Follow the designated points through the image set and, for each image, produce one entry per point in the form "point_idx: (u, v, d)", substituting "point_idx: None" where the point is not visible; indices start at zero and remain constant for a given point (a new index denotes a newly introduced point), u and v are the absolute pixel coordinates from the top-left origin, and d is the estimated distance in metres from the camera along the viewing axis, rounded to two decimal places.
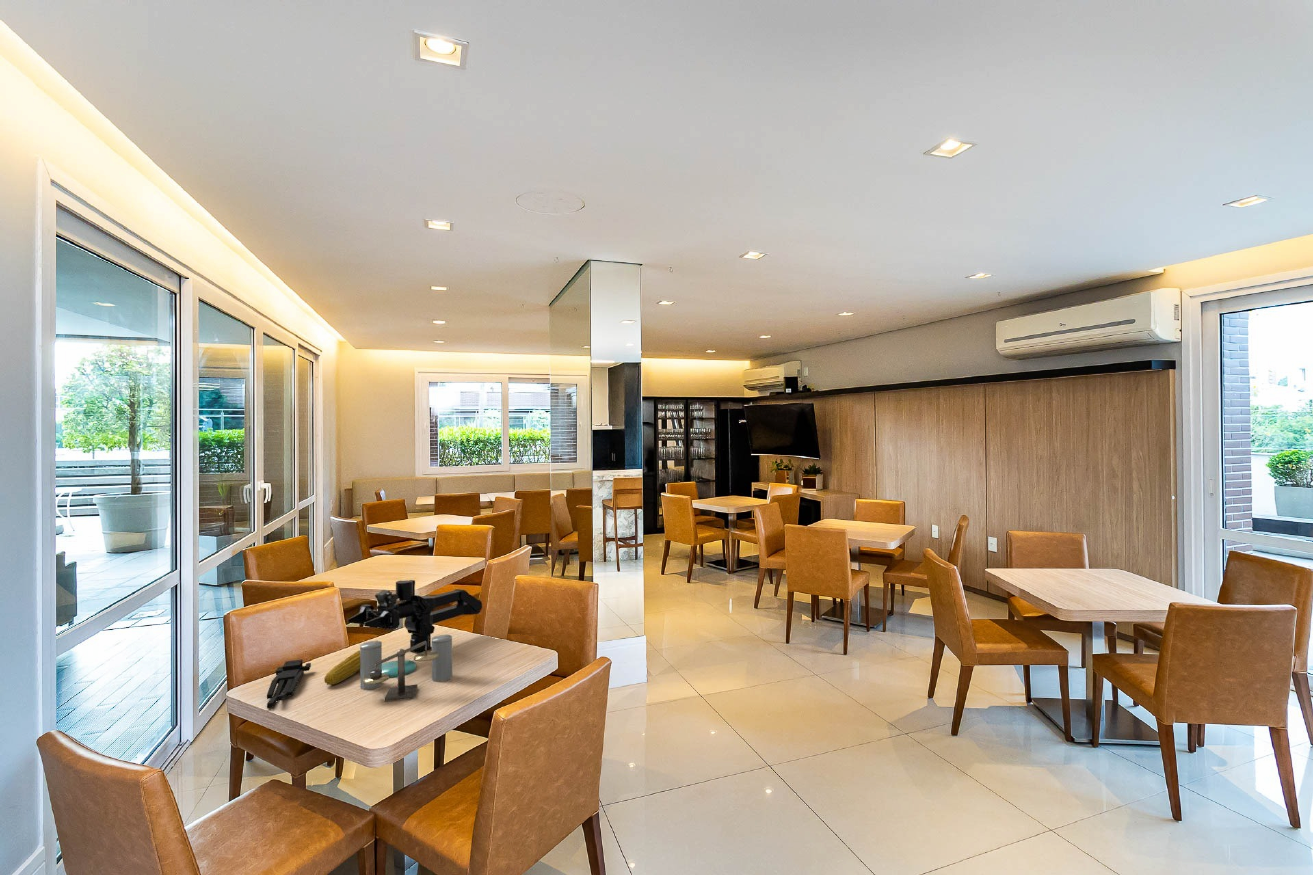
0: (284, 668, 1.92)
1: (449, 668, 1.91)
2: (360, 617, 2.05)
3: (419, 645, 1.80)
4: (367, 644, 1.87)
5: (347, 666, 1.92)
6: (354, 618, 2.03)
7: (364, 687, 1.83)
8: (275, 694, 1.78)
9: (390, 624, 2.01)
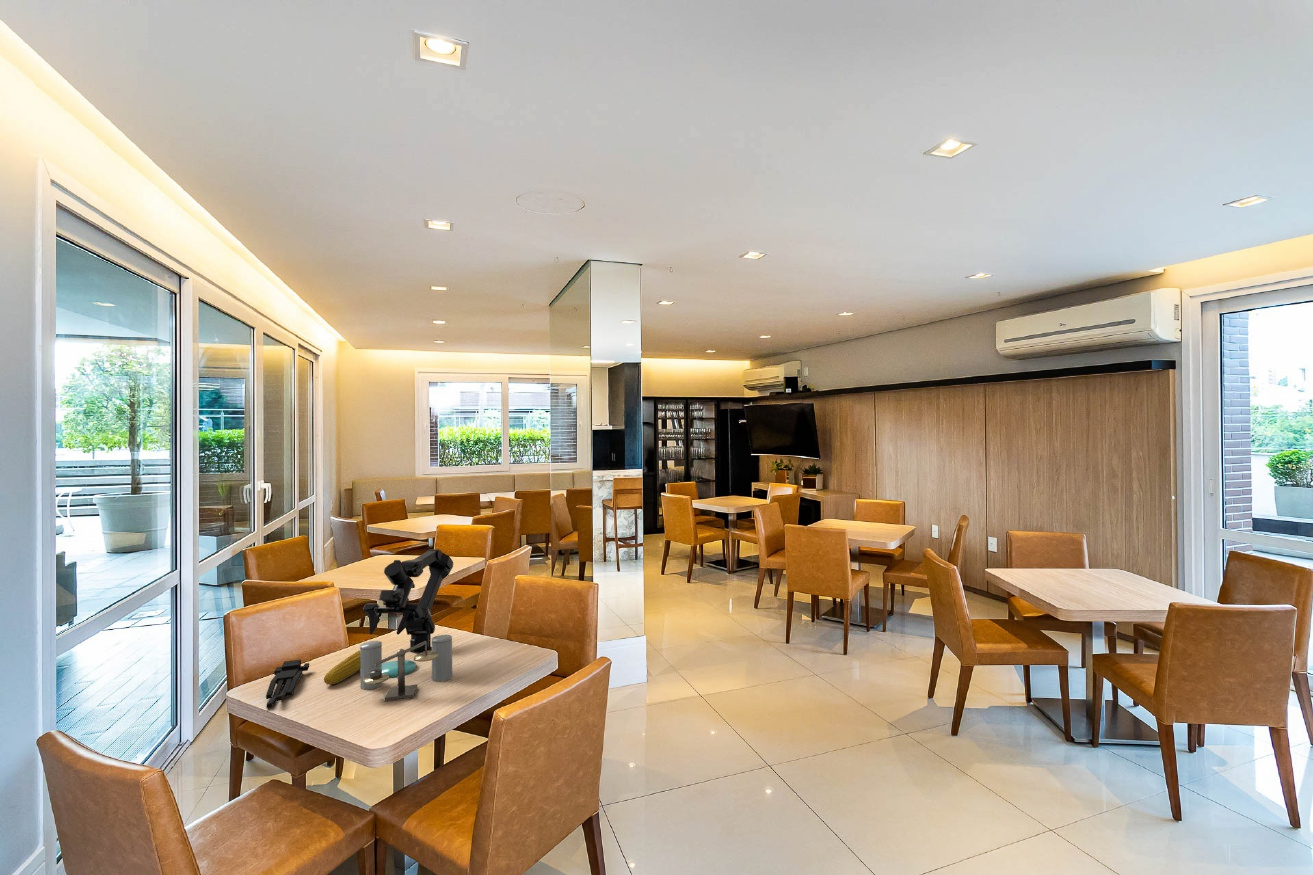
0: (283, 668, 1.92)
1: (449, 668, 1.91)
2: (374, 620, 1.99)
3: (419, 645, 1.80)
4: (367, 644, 1.87)
5: (347, 666, 1.92)
6: (373, 627, 1.97)
7: (364, 687, 1.83)
8: (274, 694, 1.78)
9: (416, 616, 2.01)
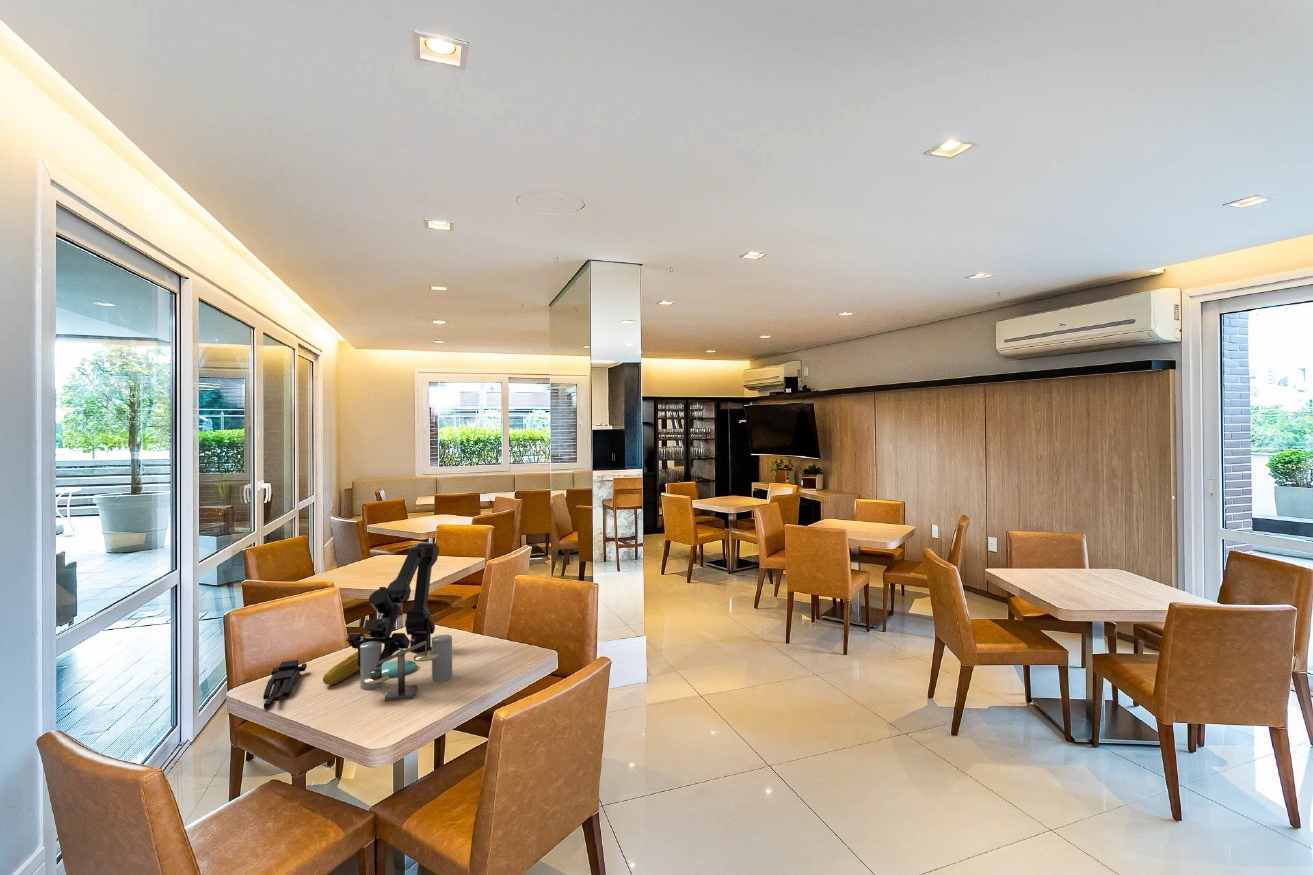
0: (280, 669, 1.92)
1: (449, 668, 1.91)
2: None
3: (419, 645, 1.80)
4: (367, 644, 1.87)
5: (346, 666, 1.92)
6: None
7: (364, 687, 1.83)
8: (271, 695, 1.78)
9: (398, 646, 1.91)
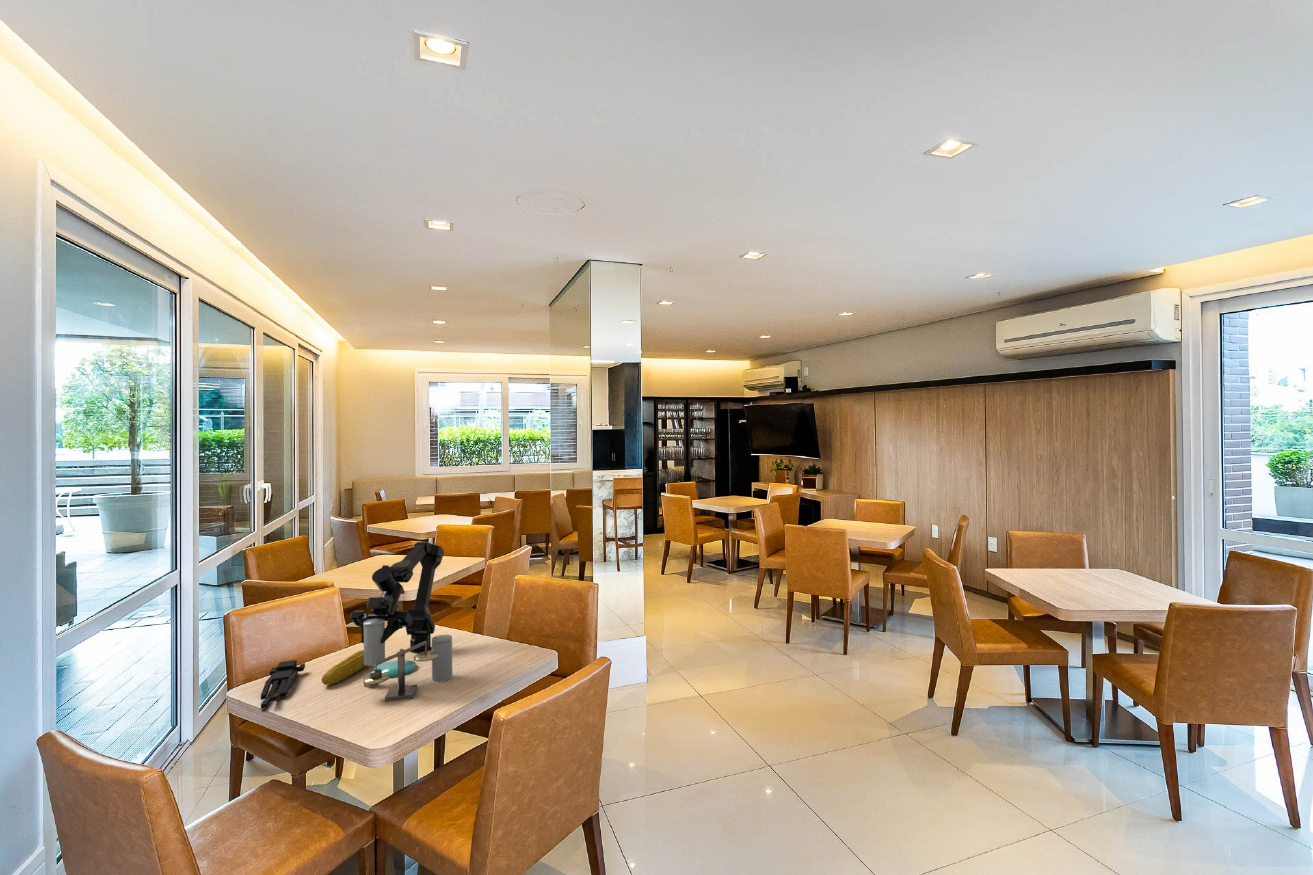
0: (278, 669, 1.92)
1: (449, 668, 1.91)
2: None
3: (419, 645, 1.80)
4: (370, 621, 1.88)
5: (345, 666, 1.92)
6: None
7: (368, 663, 1.85)
8: (269, 695, 1.78)
9: (401, 623, 1.93)
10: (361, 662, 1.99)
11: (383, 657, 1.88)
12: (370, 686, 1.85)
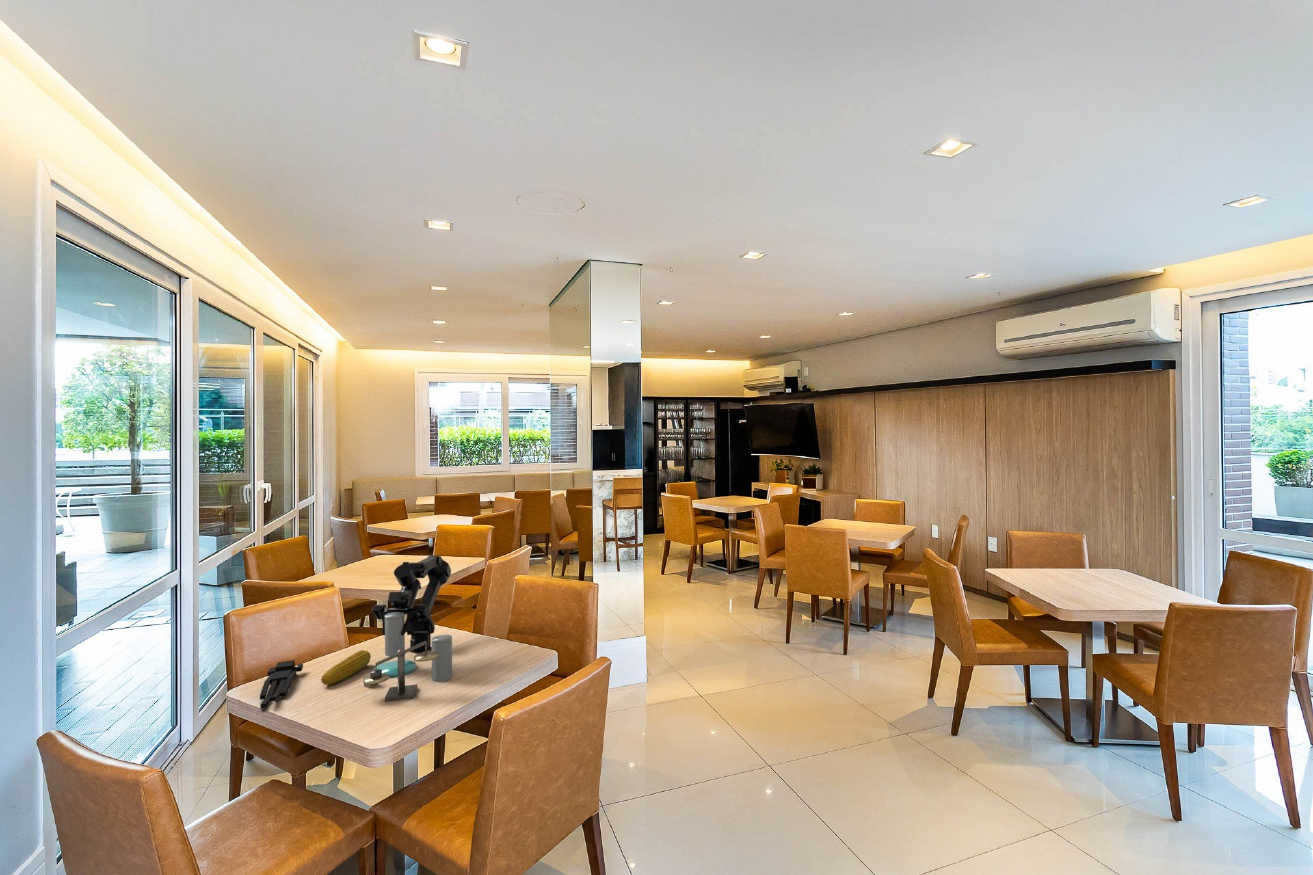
0: (276, 669, 1.92)
1: (449, 668, 1.91)
2: None
3: (419, 645, 1.80)
4: (391, 614, 2.00)
5: (345, 666, 1.92)
6: None
7: (389, 654, 1.97)
8: (268, 695, 1.78)
9: (419, 617, 2.04)
10: (361, 662, 1.99)
11: (403, 648, 1.99)
12: (370, 686, 1.85)
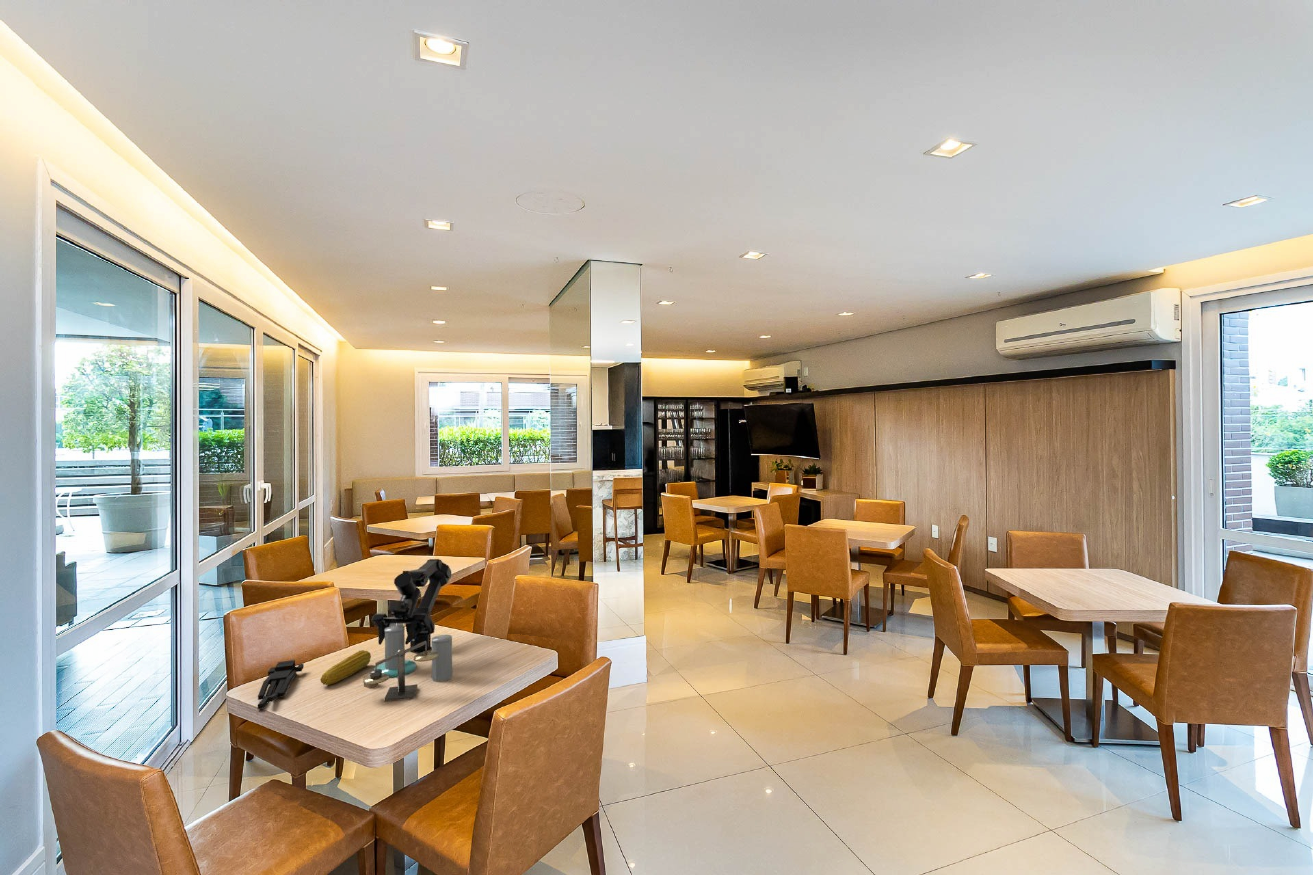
0: (276, 669, 1.92)
1: (449, 668, 1.91)
2: (383, 630, 2.02)
3: (419, 645, 1.80)
4: (391, 628, 1.99)
5: (345, 666, 1.92)
6: (381, 637, 2.00)
7: (389, 668, 1.96)
8: (266, 695, 1.77)
9: (423, 626, 2.04)
10: (361, 662, 1.99)
11: None
12: (370, 686, 1.85)
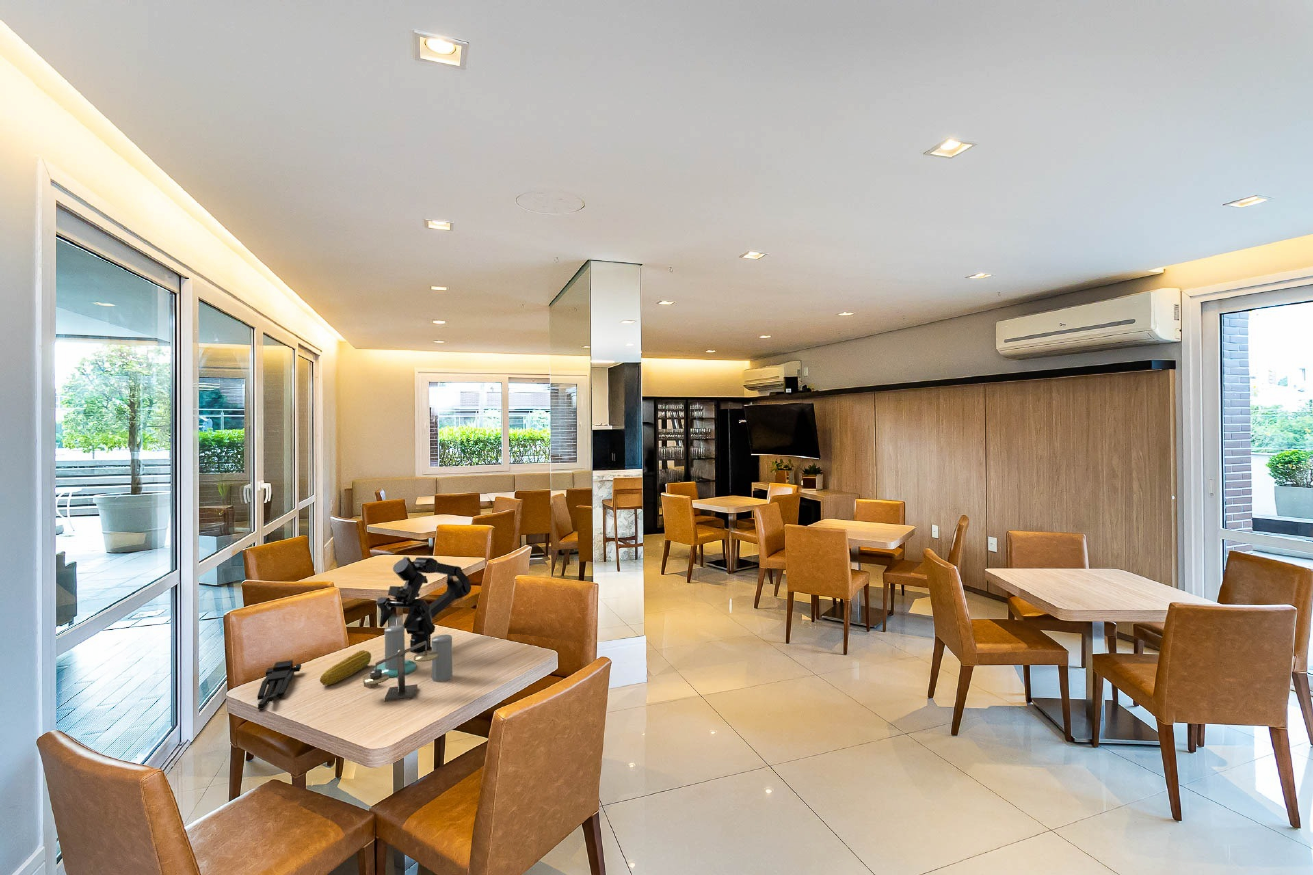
0: (274, 669, 1.92)
1: (449, 668, 1.91)
2: (385, 614, 2.10)
3: (419, 645, 1.80)
4: (391, 628, 1.99)
5: (344, 667, 1.92)
6: (383, 620, 2.08)
7: (389, 668, 1.96)
8: (266, 695, 1.77)
9: (422, 611, 2.09)
10: (361, 662, 1.99)
11: None
12: (370, 686, 1.85)
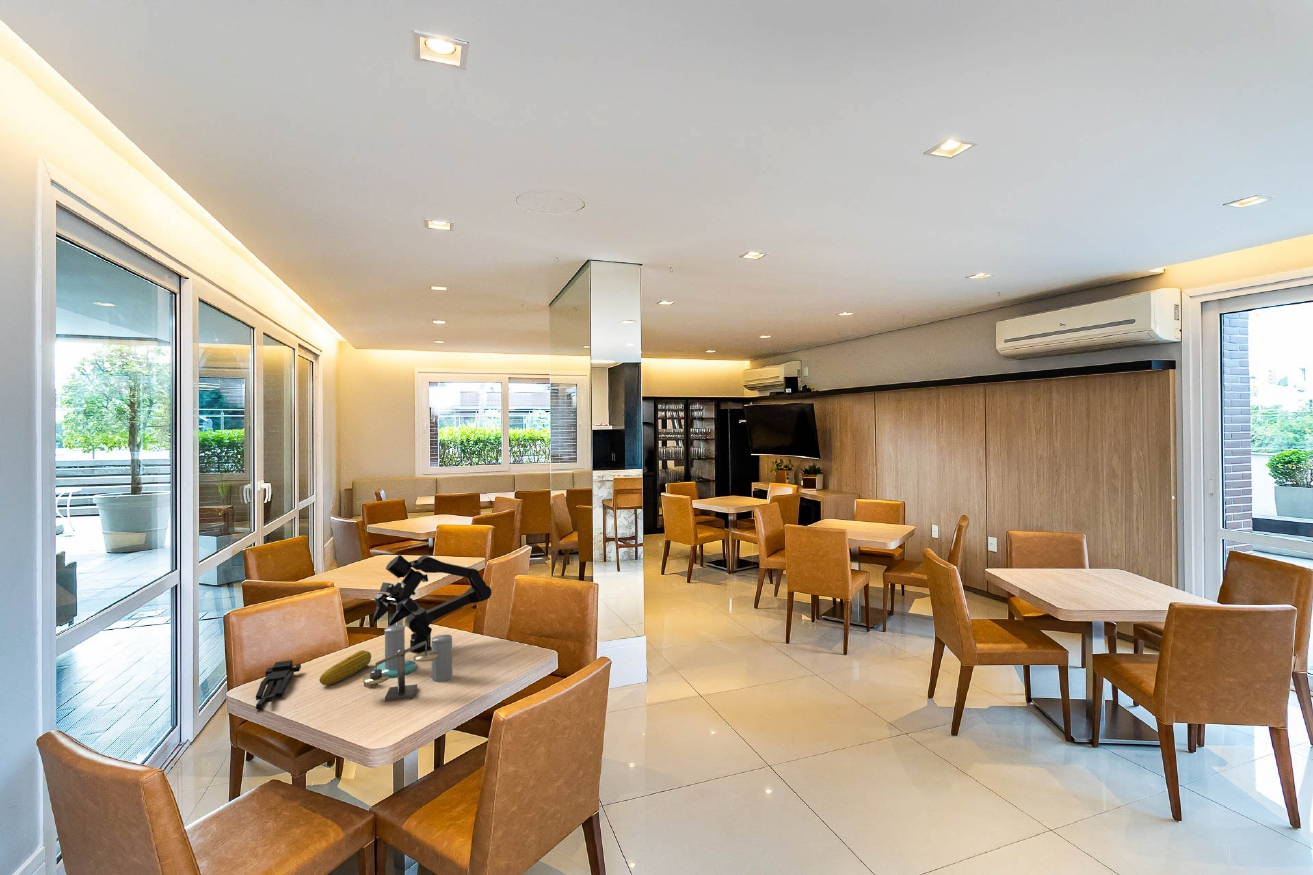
0: (274, 669, 1.92)
1: (449, 668, 1.91)
2: (381, 609, 2.13)
3: (419, 645, 1.80)
4: (391, 628, 1.99)
5: (344, 666, 1.92)
6: (376, 615, 2.11)
7: (389, 668, 1.96)
8: (264, 695, 1.77)
9: (411, 610, 2.09)
10: (361, 662, 1.99)
11: None
12: (370, 686, 1.85)
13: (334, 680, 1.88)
